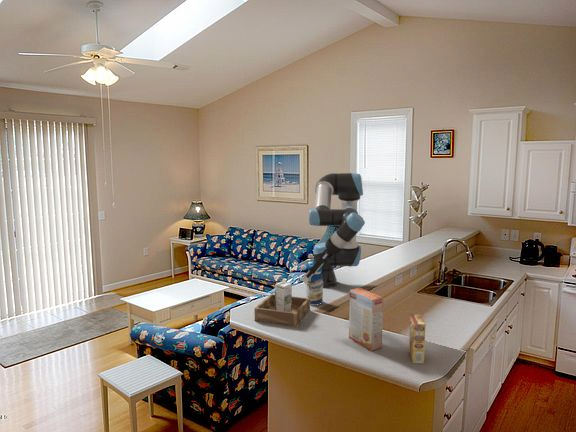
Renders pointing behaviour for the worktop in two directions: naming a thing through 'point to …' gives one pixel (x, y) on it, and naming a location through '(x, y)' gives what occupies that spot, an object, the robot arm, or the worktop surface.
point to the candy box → (417, 339)
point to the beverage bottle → (315, 287)
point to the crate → (270, 315)
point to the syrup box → (283, 296)
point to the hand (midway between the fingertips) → (308, 276)
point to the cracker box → (366, 318)
